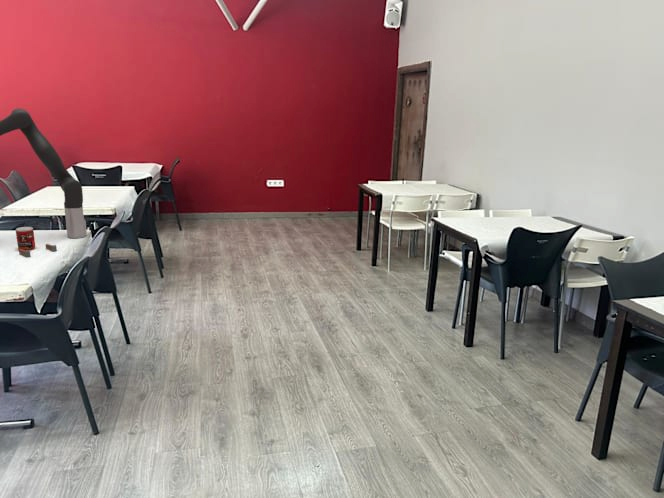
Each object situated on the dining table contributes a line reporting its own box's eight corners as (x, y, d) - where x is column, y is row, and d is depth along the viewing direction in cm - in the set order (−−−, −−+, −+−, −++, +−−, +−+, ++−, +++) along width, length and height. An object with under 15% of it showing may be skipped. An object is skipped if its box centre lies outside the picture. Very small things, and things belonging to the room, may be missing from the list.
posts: (55, 250, 259) (54, 244, 258) (56, 251, 258) (56, 245, 258) (25, 256, 247) (24, 251, 246) (26, 257, 246) (26, 251, 245)
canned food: (16, 251, 255) (13, 230, 252) (21, 247, 262) (18, 226, 259) (33, 250, 257) (30, 230, 254) (37, 246, 264) (34, 226, 261)
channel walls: (48, 248, 262) (47, 243, 261) (54, 250, 259) (54, 246, 258) (19, 254, 250) (18, 249, 250) (25, 256, 247) (25, 251, 247)
